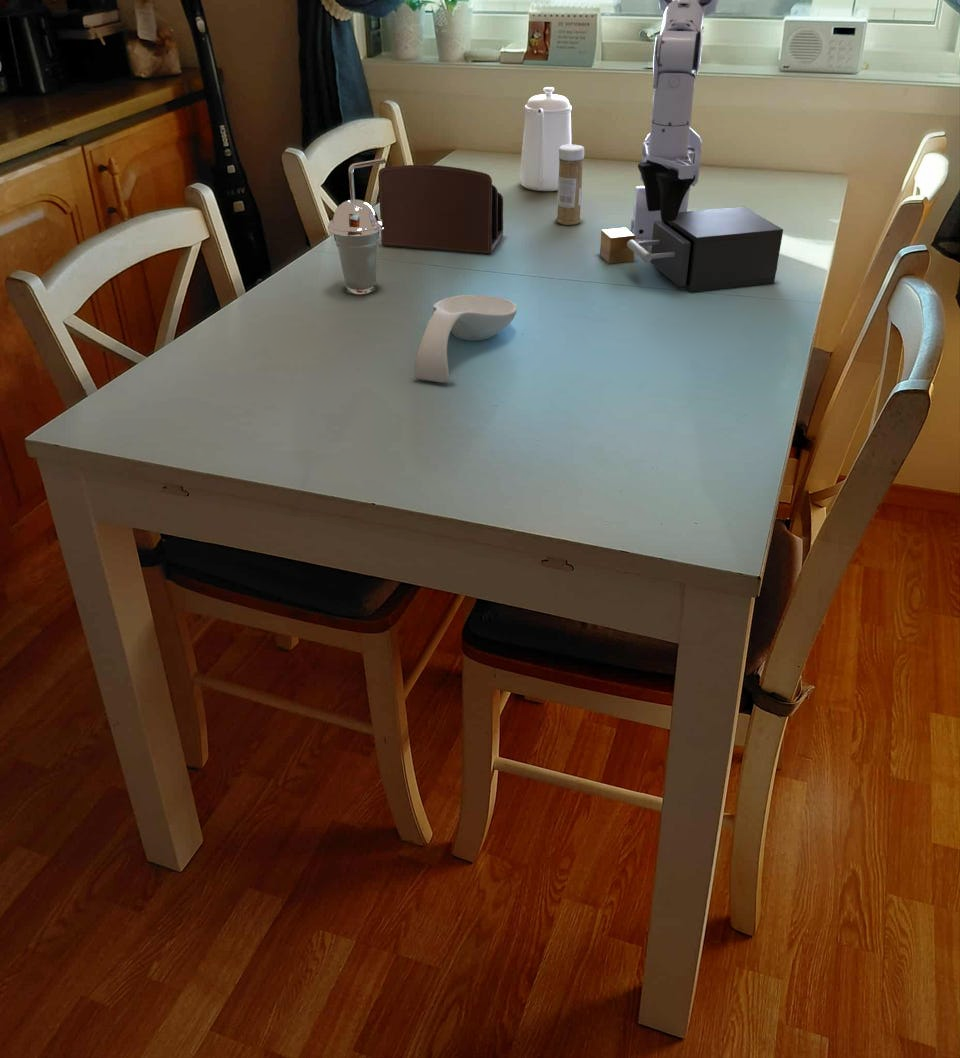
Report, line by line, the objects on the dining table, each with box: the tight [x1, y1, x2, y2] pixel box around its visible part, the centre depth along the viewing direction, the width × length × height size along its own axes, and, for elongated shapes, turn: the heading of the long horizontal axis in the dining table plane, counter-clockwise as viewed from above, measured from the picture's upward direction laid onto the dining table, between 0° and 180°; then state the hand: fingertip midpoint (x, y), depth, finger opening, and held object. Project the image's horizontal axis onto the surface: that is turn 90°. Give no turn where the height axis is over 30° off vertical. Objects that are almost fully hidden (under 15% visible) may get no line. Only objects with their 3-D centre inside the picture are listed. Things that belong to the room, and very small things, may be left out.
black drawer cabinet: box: [662, 206, 784, 293], centre depth 157 cm, size 15×13×9 cm
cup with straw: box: [327, 157, 387, 296], centre depth 148 cm, size 8×9×20 cm
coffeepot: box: [519, 86, 573, 192], centre depth 197 cm, size 11×25×19 cm, turn 168°
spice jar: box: [556, 144, 585, 226], centre depth 178 cm, size 5×5×14 cm
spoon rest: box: [414, 294, 518, 383], centre depth 133 cm, size 24×12×7 cm, turn 162°
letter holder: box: [377, 164, 504, 255], centre depth 169 cm, size 10×20×14 cm, turn 76°
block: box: [599, 227, 635, 265], centre depth 164 cm, size 4×4×4 cm
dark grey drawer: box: [627, 221, 694, 287], centre depth 155 cm, size 19×11×7 cm, turn 105°
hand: (661, 215), depth 151 cm, fingers open, 5 cm apart
